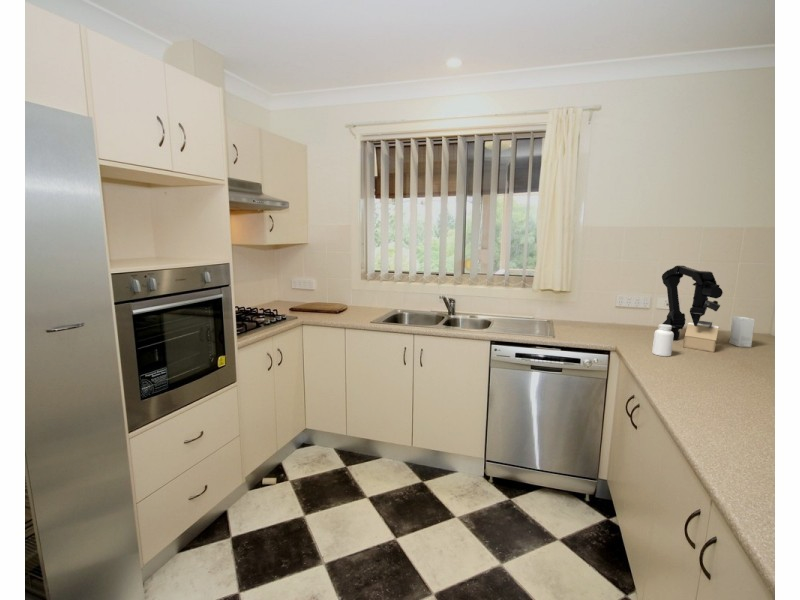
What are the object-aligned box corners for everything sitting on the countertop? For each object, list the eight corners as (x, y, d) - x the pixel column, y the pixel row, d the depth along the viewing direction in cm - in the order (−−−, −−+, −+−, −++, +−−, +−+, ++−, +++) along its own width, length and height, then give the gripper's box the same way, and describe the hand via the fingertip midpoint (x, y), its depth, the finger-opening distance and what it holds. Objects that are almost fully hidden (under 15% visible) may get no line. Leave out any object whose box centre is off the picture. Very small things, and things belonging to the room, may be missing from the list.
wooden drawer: (683, 347, 207) (684, 336, 206) (685, 343, 216) (687, 332, 215) (714, 352, 199) (715, 341, 198) (715, 348, 207) (717, 337, 206)
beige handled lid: (684, 336, 206) (685, 330, 204) (688, 323, 212) (688, 317, 210) (715, 340, 198) (716, 334, 196) (718, 327, 204) (719, 321, 202)
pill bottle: (668, 353, 196) (672, 324, 193) (673, 357, 188) (677, 327, 186) (649, 351, 198) (653, 322, 196) (654, 355, 191) (658, 326, 189)
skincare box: (751, 347, 210) (756, 319, 207) (737, 346, 211) (742, 318, 209) (741, 343, 218) (745, 316, 215) (727, 342, 219) (732, 315, 217)
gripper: (719, 299, 191) (714, 330, 194) (721, 295, 205) (716, 323, 208) (691, 296, 198) (687, 326, 201) (694, 292, 212) (690, 320, 215)
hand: (696, 324), depth 206 cm, fingers open, 9 cm apart
